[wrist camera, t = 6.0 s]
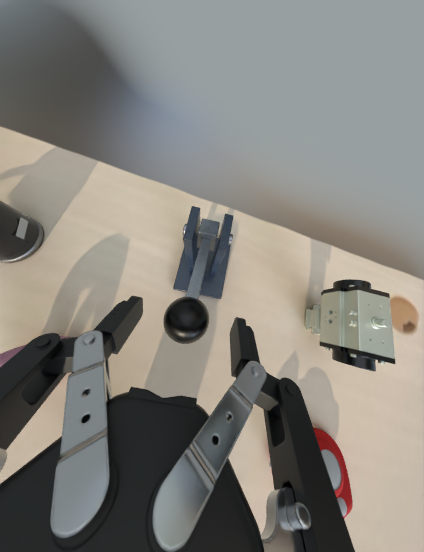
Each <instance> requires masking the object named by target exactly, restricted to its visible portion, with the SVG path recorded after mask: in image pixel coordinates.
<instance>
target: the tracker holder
mask: <svg viewBox="0 0 424 552" xmlns="http://www.w3.org/2000/svg"><path fill="white" fill-rule="evenodd" d="M313 429H314V432H315V435H316V438H317V441H318V444H319V447H320V450H321V453H322V456H323V459H324V462H325V465H326V468H327V471H328V474H329V476H330V479H331V482H332V485H333V488H334V491H335V494H336V497H337V500H338V503H339V506H340V509H341V512H342V515H343V518H345V517H346V516H347V515H348V514H349V513H350V511H351V509H352V495H351V489H350V483H349V478H348V473H347V469H346V465H345V461H344V458H343V455H342V453H341V451H340V449H339V447H338V445H337V444H336V442H335V441H334V440H333V439H332V438H331V437H330V436H329V435H328V434H327V433H326V432H324V431H322V430H320V429H317V428H313ZM269 465H270V467H271V460H270V464H269ZM271 468H272V467H271Z"/></svg>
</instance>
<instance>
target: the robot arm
mask: <svg viewBox="0 0 424 552" xmlns="http://www.w3.org/2000/svg"><path fill="white" fill-rule="evenodd" d="M42 240H43V229H42V227H41V225H40V224H39V223H38V222H37V221H36V220H34V219H32V218H30V217H29V216H26V215H24V214H22V213H21V212H19V211H17V210H16V209H14V208H12V207H11V206H9V205H7V204H5V203H4V202H2V201H0V262H2V263H12V262H17V261H20V260H23V259H25V258H27V257H29V256H30V255H32V254H33V253H34V252H35V251H36V250H37V249H38V248H39V246H40V245H41V243H42ZM142 314H143V299H142V298H141V297H137V296H131V297H130V298H129V300H128V301H122V302H121V303H119V304H117V305H116V306H115V307H114V308H113V310H112V311H111V312H110V313H109V314H108V315H107V316H106V317H105V318H104V319H103V320H102V321H101V322H100V323H99V325H98V326H97V327H96V328H95V329H94V330H93V331H88V332H86V333H83V334H82V335H80V336H79V337H76V338H65V339H61V338H60V336H59V335H58V334H55V333H49V334H45V335H41V336H39V337H37V338H35V339H34V340H32V341H31V342H30V343H28V344H27V345H26V346H25V347H24V348H22V349H21V350H20V351H19V352H18V353H17V354H15V355H14V356H13V357H12V358H11V359H9V360H8V361H7V362H6V363H5V364H3V365H2V366H1V367H0V472H1V470H2V468H3V466H4V464H5V462H6V459H7V452H6V449H7V448H8V447H9V445H10V444H11V443H12V442H13V440H14V439H15V438H16V437H17V435H18V434H19V433H20V432H21V430H22V429H23V428H24V426H25V425H26V424H27V423H28V421H29V420H30V419H31V418H32V416H33V415H34V414H35V413H36V411H37V410H38V409H39V408H40V406H41V405H42V404H43V402H44V401H45V400H46V399H47V397H48V396H49V395H50V394H51V392H52V391H53V390H54V389H55V387H56V386H57V385H58V384H59V382H60V381H61V380H62V378H63V377H64V376H65V375H66V373H71V372H72V374H70V375H69V377H68V382H67V392H66V402H65V412H64V422H63V432H62V436H61V437H60V438H59V439H58V440H56V441H55V442H54V443H52V444H51V445H50V446H49V447H47V448H46V449H45V450H43V451H42V452H41V453H40V454H38V455H37V456H36V457H35V458H33V459H32V460H31V461H29V462H28V463H27V464H26V465H24V466H23V467H22V468H20V469H19V470H18V471H17V472H15V473H14V474H13V475H11V476H10V477H9V478H8V479H6V480H5V481H4V482H2V483H1V484H0V552H355V551H354V548H353V545H352V542H351V539H350V536H349V533H348V530H347V527H346V524H345V521H344V518H343V515H342V512H341V509H340V506H339V503H338V500H337V497H336V494H335V491H334V488H333V485H332V482H331V479H330V476H329V474H328V471H327V468H326V465H325V462H324V459H323V456H322V453H321V450H320V447H319V444H318V441H317V438H316V435H315V432H314V429H313V426H312V423H311V420H310V417H309V414H308V411H307V408H306V405H305V402H304V399H303V396H302V394H301V391H300V389H299V387H298V386H297V385H296V383H295V382H293V381H292V380H291V379H289V378H282V379H281V380H279V379H277V378H275V377H273V376H271V375H270V374H268V373H267V372H266V371H265V369H264V367H263V366H262V365H261V364H260V361H259V356H258V351H257V347H256V342H255V339H254V338H255V337H254V332H253V331H252V329H251V327H250V326H246V321H245V319H242V318H238V317H236V318H235V320H234V323H233V325H232V328H231V331H230V350H231V373H232V376H233V377H236V380H235V382H234V383H233V385H232V386H231V387H230V388H229V389H228V391H227V392H226V394H225V395H224V397H223V398H222V400H221V401H220V402H219V404H218V405H217V407H216V408H215V410H214V411H213V412H212V414H211V415H210V417H209V415H208V414H207V412H206V411H205V410H204V409H203V408H202V407H200V406H199V405H198V404H196V401H197V399H196V398H191V397H185V396H175V397H168V398H161V397H160V396H158V395H156V394H154V393H152V392H151V391H149V390H146V389H140V388H134V387H131V388H130V390H129V392H127V393H123V394H120V395H117V396H115V397H112V390H111V382H110V371H109V360H108V358H109V357H110V355H111V354H112V353H113V354H118V352H119V351H120V349H121V348H122V346H123V345H124V343H125V342H126V340H127V339H128V337H129V335H130V334H131V332H132V331H133V329H134V328H135V326H136V325H137V323H138V322H139V320H140V318H141V317H142ZM253 404H256V405H258V406H259V407H261V408H263V409H264V416H265V424H266V431H267V438H268V445H269V453H270V460H271V467H272V475H273V482H274V489H275V490H274V491H272V492H271V493H270V494H269V496H268V499H267V505H266V515H267V517H266V525H265V529H264V531H263V533H262V534H261V535H260V531H259V528H258V525H257V523H256V520H255V518H254V515H253V513H252V511H251V509H250V506H249V504H248V502H247V500H246V497H245V495H244V493H243V491H242V488H241V486H240V484H239V481H238V479H237V477H236V475H235V472H234V470H233V468H232V466H231V463H230V461H229V459H228V457H229V455H230V453H231V451H232V449H233V447H234V445H235V443H236V441H237V439H238V437H239V435H240V433H241V431H242V429H243V427H244V425H245V423H246V421H247V419H248V417H249V415H250V413H251V411H252V408H253V407H252V406H253Z"/></svg>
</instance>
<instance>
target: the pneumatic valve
mask: <svg viewBox="0 0 424 552" xmlns="http://www.w3.org/2000/svg"><path fill="white" fill-rule="evenodd" d="M305 326H306V328H307V329H308V330H309V329H310V327H311V328H312V333H313V334H317V335H320V346H323V347H326V350H330V348H331V349H332V359H333V360H336V361H338V362H342V363H345V364H348V365H352V366H355V367H359V368H362V369H366V370H370V371H376V365H375V360H378V363H381V364H385V362H388V363H392V364H395V354H394V343H393V331H392V320H391V308H390V297H389V293H385V292H381V291H377V290H373V289H371V284H370V283H369V282H367V281H362V280H340V281H336V282H334V283H333V288H332V289H327V290H323V292H321V305H313V310H311V309H309V308H308V309H307V310H306V319H305Z"/></svg>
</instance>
